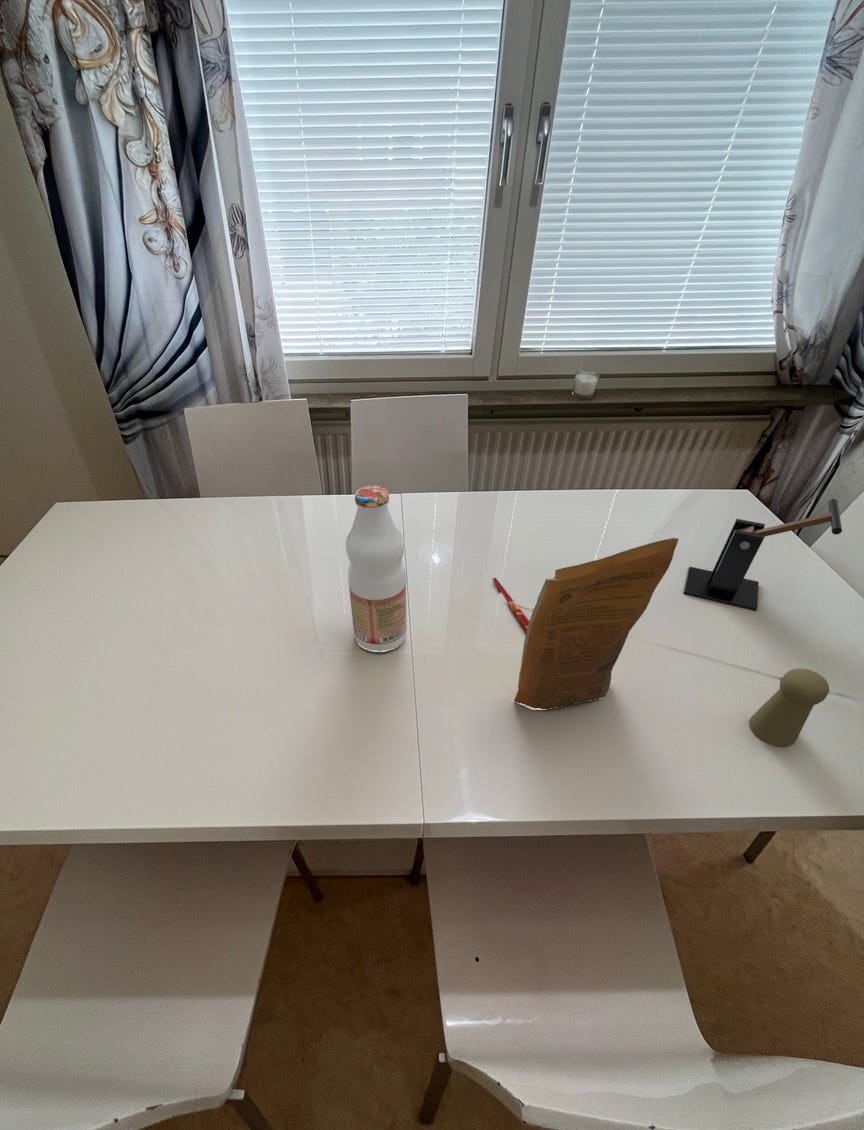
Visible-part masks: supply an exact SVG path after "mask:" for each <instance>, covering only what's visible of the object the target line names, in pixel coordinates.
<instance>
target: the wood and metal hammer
mask: <svg viewBox="0 0 864 1130" xmlns="http://www.w3.org/2000/svg"><path fill="white" fill-rule="evenodd" d="M838 502H839V501H838V499H837V498H836V499H835V498H832V499H830V500H828V501H827V506H828V513H824V514H820V515H815V516H811V517H807V518H803V519H798V520H795V521H791V522H790V521H789V522H787V523H782V524H778V525H774V526H770V527H766V528H765V527H764V529H761V530H756V531H755V529H754V526H751V527H747V528H743V529H739V530H740V531H745V532H750V533H755V534H761V535H764V538H765V537H769V536H774V535H779V534H782V533H783V534H784V533H787V532H791V531H796V530H800V529H804V528H808V527H813V526H818V525H820V524H821V525H822V524H825V523H830V529H831V534H833V535H840V534H841V533H842V532H843V527H842V522H841V514H840V507H839V503H838Z"/></svg>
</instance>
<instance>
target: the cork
mask: <svg viewBox="0 0 864 1130" xmlns="http://www.w3.org/2000/svg"><path fill="white" fill-rule="evenodd" d="M829 692H830V685H829V683H828V681H827V679H826V677H824V676H822V674H820V673H818V672H816V671H813V670H812V669H808V668H800V667H798V668H793V669H790V670H788V671H786V672H785V673H784V674H783V675H782V677H781V679H780V681H779V688H778V689H777V691H776V692H774V694H773V695H772V696H771V697H770V698H769V699H767V700H766V702H765V703H764V704H763V705H762V706H761V707H760V708H759V709H758V710H757V711H756V712H755V713H754V714H753V715H752V716H751V717H750V719H748V726H749V728H750V731H751V732H752V733H753V734H754V735H755V737H757V738H758V739H759V740H760V741H763V742H764V743H766V744H768V745H771V746H773V747H781V748H787V747H791V746H793V745H795V743H796V741H798V738H799V737H800V734H801V732H802V730H803V728H804V726H805V724H806V721H807V720H808V718H809V716H810V714H811V712H812V710H813V708H814V706H815V705H819V704H820V703H822V702H824V701H825V700H826V698H827V697H828V695H829V694H830V693H829Z"/></svg>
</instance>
